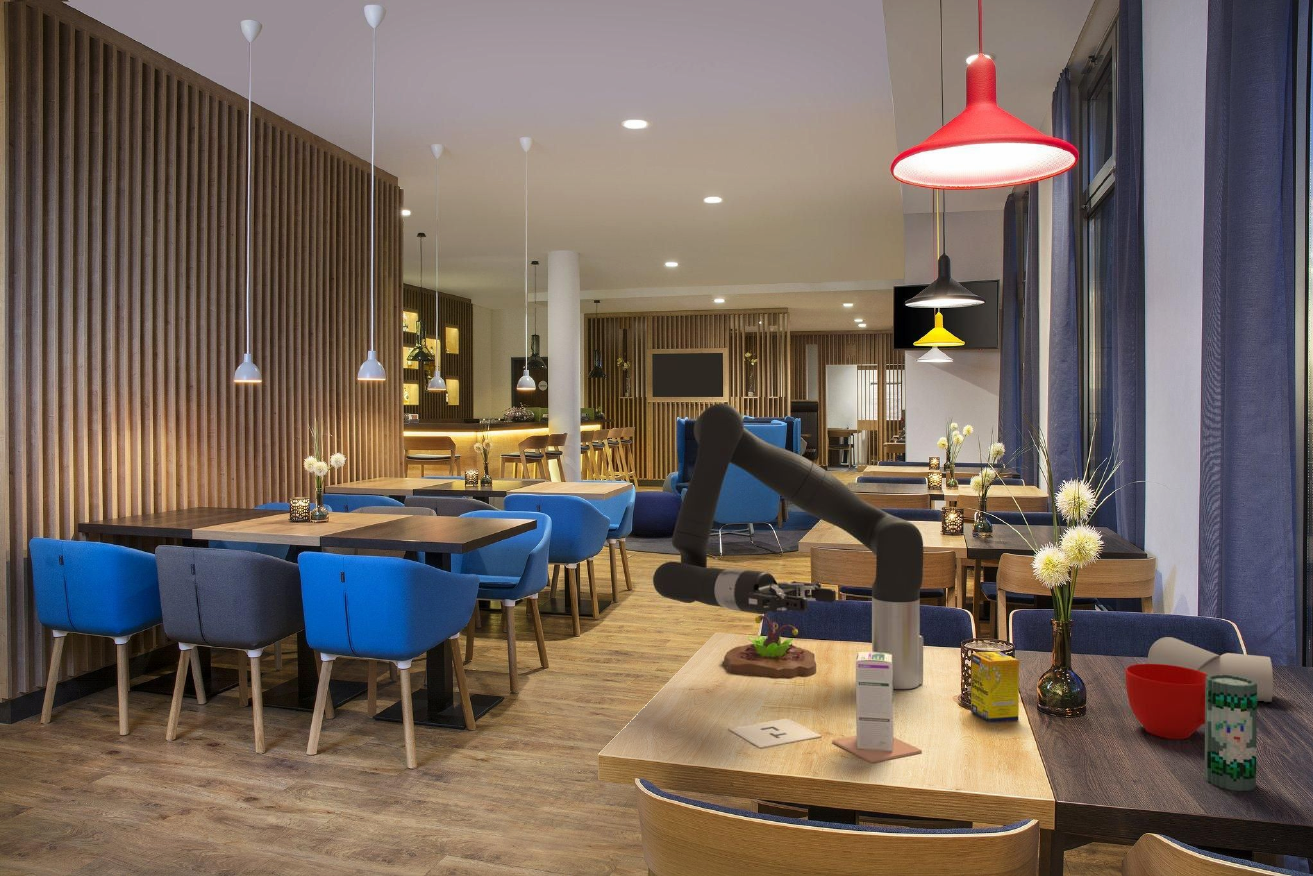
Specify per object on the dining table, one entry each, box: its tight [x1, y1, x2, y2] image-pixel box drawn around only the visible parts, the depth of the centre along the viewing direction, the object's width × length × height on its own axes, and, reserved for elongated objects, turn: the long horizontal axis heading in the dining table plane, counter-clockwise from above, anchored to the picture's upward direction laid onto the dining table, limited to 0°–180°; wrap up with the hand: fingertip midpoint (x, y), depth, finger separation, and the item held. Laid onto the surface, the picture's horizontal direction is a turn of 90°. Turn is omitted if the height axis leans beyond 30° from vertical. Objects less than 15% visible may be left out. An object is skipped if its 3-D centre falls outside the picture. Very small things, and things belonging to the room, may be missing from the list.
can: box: [1204, 674, 1258, 792], centre depth 133 cm, size 6×6×15 cm
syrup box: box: [855, 651, 895, 752], centre depth 148 cm, size 6×6×14 cm
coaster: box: [831, 735, 923, 764], centre depth 148 cm, size 10×10×1 cm
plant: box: [723, 614, 817, 679], centre depth 198 cm, size 20×20×11 cm
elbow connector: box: [1147, 636, 1274, 703], centre depth 179 cm, size 18×10×20 cm
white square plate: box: [728, 718, 822, 749], centre depth 155 cm, size 12×10×1 cm
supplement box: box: [970, 650, 1020, 724], centre depth 163 cm, size 6×6×11 cm
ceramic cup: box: [1124, 663, 1208, 740], centre depth 153 cm, size 13×17×10 cm
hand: (820, 600), depth 155 cm, fingers open, 8 cm apart
